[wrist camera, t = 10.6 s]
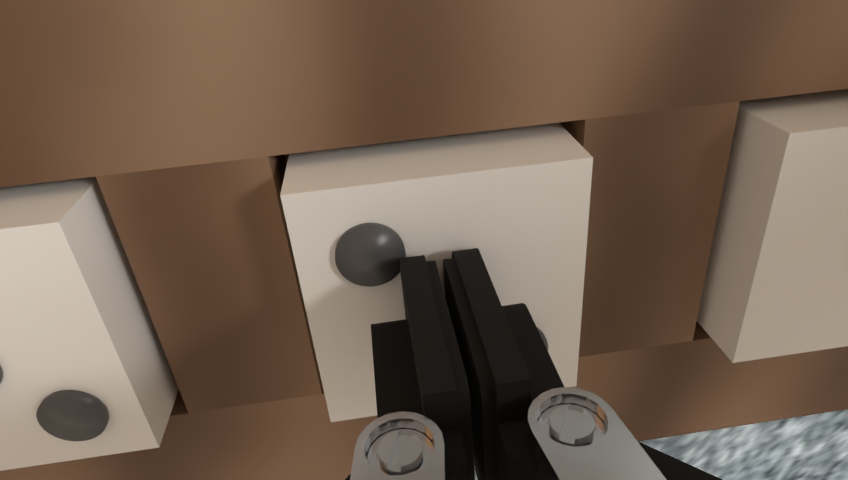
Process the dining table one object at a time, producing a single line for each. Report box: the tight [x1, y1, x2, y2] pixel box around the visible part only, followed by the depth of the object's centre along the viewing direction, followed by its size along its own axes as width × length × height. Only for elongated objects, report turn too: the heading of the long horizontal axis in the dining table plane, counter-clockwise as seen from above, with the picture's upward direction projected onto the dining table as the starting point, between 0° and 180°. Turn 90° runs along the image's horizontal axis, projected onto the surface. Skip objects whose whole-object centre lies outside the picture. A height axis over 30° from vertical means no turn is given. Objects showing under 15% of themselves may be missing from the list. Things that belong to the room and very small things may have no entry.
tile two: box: [280, 123, 593, 422], centre depth 14 cm, size 6×6×3 cm
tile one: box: [697, 89, 848, 363], centre depth 15 cm, size 6×6×3 cm
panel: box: [0, 0, 848, 480], centre depth 15 cm, size 30×14×3 cm, turn 94°
